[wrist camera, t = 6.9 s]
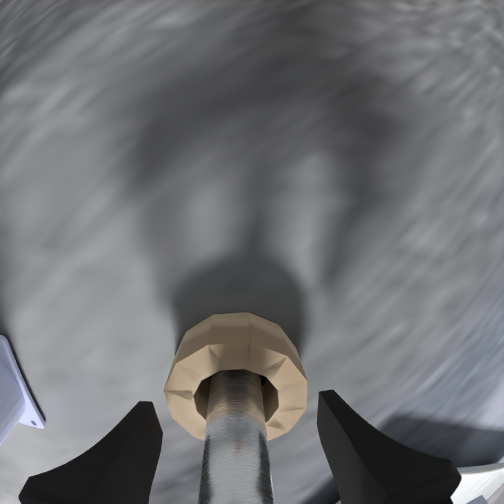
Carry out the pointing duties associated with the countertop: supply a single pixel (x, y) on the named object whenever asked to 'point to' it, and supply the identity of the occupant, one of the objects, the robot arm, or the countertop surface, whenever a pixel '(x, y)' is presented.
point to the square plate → (477, 482)
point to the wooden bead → (236, 357)
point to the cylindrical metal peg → (235, 442)
